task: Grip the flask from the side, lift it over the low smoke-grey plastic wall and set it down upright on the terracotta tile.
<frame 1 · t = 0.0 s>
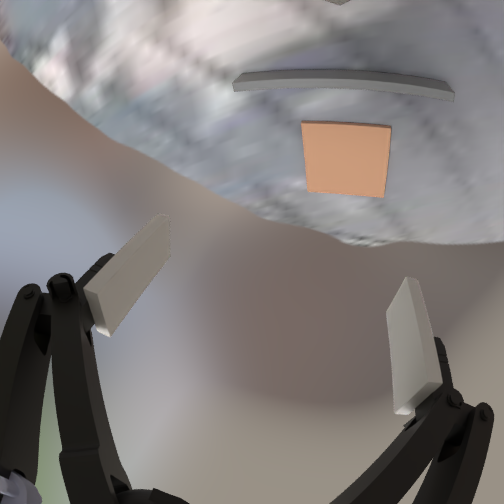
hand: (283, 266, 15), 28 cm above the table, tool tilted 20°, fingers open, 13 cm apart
terracotta tile: (346, 159, 40), on the table
low wall: (344, 74, 30), on the table
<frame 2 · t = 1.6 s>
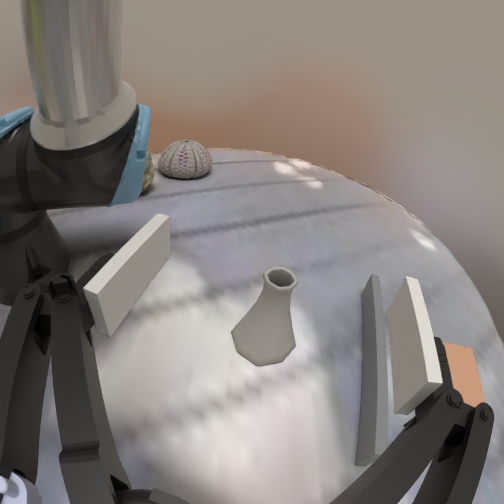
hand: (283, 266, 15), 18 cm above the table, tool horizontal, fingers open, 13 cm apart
sea urchin shell: (184, 172, 70), on the table
terracotta tile: (447, 379, 30), on the table
flask: (262, 341, 34), on the table
seashell: (127, 191, 59), on the table
low wall: (366, 365, 32), on the table
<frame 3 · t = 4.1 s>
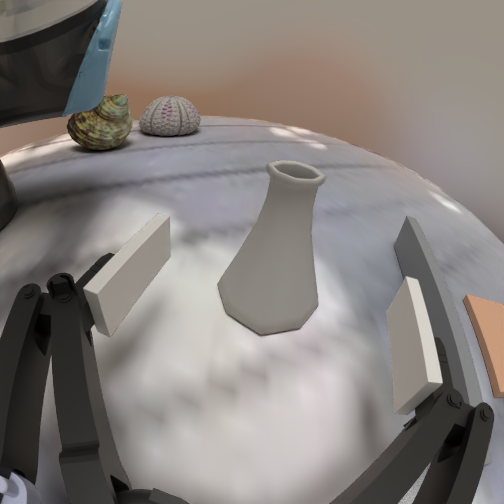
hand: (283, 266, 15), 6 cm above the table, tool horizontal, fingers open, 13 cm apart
sea urchin shell: (168, 132, 58), on the table
flask: (266, 299, 22), on the table
seashell: (101, 147, 47), on the table
low wall: (421, 332, 20), on the table
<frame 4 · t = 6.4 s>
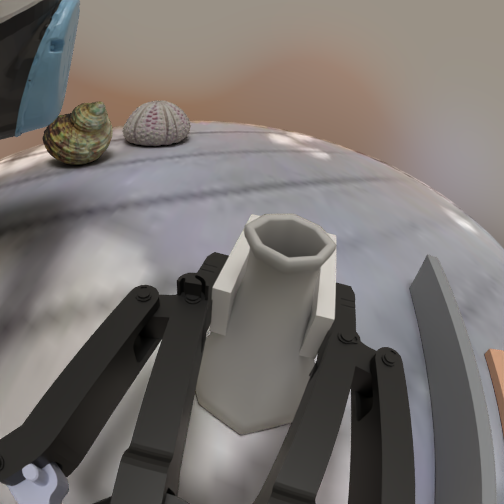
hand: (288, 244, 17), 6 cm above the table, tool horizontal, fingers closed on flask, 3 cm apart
sea urchin shell: (155, 141, 53), on the table
flask: (252, 380, 16), on the table, touching gripper
seashell: (80, 161, 41), on the table
low wall: (438, 409, 15), on the table
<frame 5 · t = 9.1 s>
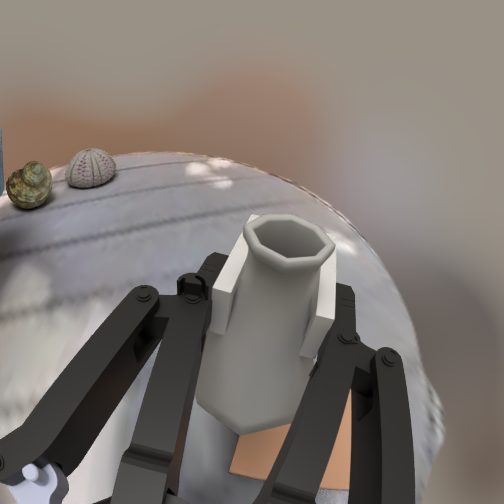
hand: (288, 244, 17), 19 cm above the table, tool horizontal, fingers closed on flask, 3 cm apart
sea urchin shell: (90, 181, 64), on the table
terracotta tile: (301, 432, 25), on the table
flask: (251, 381, 16), point 13 cm above the table, touching gripper
seashell: (33, 204, 52), on the table
when the fingers open (8 cm above the table, at t = 12.2 s): flask drops 1 cm, resting on terracotta tile.
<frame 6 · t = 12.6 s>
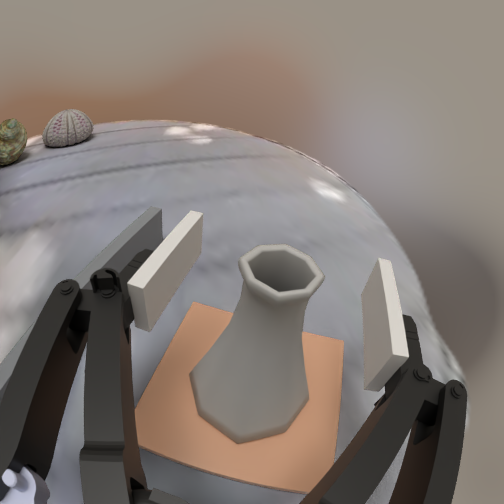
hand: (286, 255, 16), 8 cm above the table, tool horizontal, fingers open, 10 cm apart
sea urchin shell: (67, 142, 57), on the table
terracotta tile: (247, 394, 18), on the table
flask: (248, 392, 17), point 1 cm above the table, touching terracotta tile
seashell: (7, 162, 46), on the table
low wall: (82, 331, 19), on the table
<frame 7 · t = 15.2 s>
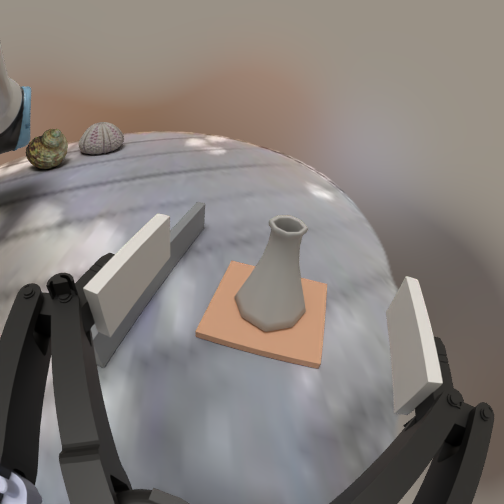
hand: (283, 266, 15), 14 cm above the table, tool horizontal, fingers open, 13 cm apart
sea urchin shell: (101, 150, 72), on the table
terracotta tile: (268, 311, 32), on the table
flask: (269, 307, 31), point 1 cm above the table, touching terracotta tile
seashell: (49, 166, 60), on the table
low wall: (159, 280, 33), on the table
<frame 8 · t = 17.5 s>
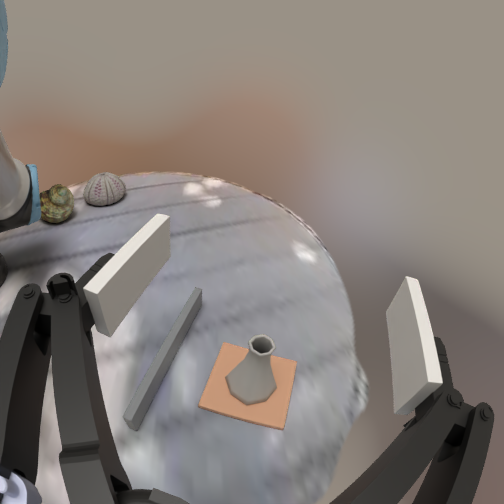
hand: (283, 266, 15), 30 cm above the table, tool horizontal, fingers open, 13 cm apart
sea urchin shell: (104, 199, 80), on the table
terracotta tile: (250, 385, 41), on the table
flask: (250, 384, 40), point 1 cm above the table, touching terracotta tile
seashell: (57, 218, 69), on the table
low wall: (168, 359, 42), on the table
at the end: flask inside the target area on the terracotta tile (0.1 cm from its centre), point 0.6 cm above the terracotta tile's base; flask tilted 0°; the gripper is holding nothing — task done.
